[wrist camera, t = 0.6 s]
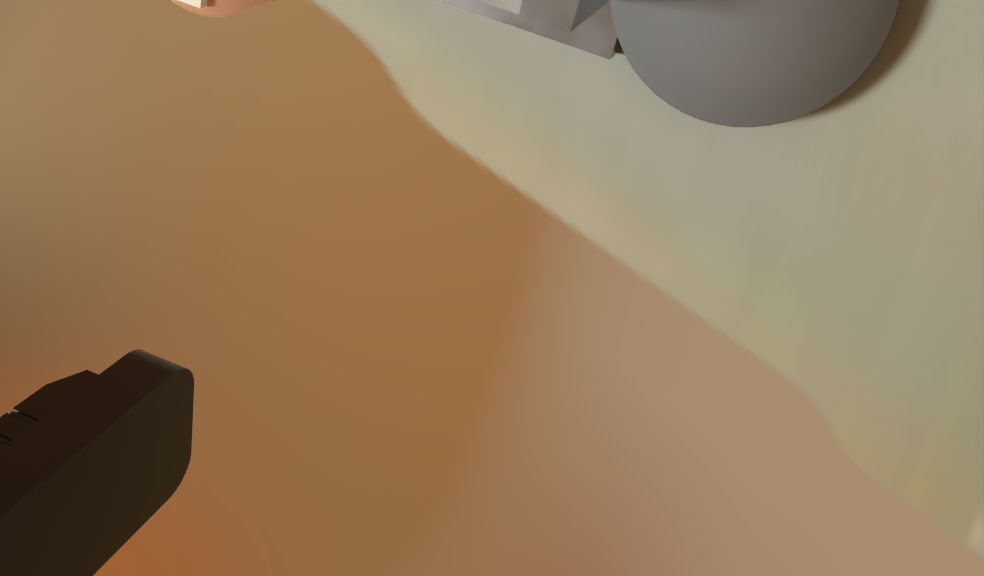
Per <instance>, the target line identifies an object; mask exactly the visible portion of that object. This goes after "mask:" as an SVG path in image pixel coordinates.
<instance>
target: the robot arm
mask: <svg viewBox="0 0 984 576" xmlns="http://www.w3.org/2000/svg"><path fill="white" fill-rule="evenodd" d="M193 395H194V378H193V374H192V372H191V371H190V370H188V369H186V368H184V367H182V366H179V365H177V364H174V363H172V362H169V361H167V360H165V359H162V358H160V357H158V356H155V355H153V354H150V353H148V352H145V351H143V350H134V351H132V352H129V353H128V354H126V355H125V356H124V357H122V358H121V359H119V360H118V361H117V362H115V363H114V364H113V365H111V366H110V367H109V368H107V369H106V370H105V371H103V372H102V373H101V374H99V375H98V374H96V373H93V372H91V371H89V370H86V371H83V372H80V373H77V374H74V375H72V376H69V377H66V378H64V379H61V380H58V381H55V382H52V383H50V384H47V385H45V386H43V387H42V388H41V389H39V390H38V391H36V392H35V393H34V394H32V395H31V396H29V397H28V398H27V399H25V400H24V401H22V402H21V403H20V404H18V405H17V406H15V407H14V408H13V411H12V412H11V413H10V414H8V413H6V414H4V415H3V416H1V417H0V576H93V575H94V574H95V573H96V572H97V571H98V570H99V569H100V568H101V567H102V566H103V565H104V564H105V563H106V562H107V561H108V560H109V559H110V558H111V557H112V556H113V555H114V554H115V553H116V552H117V551H118V550H119V549H120V548H121V547H122V546H123V545H124V544H125V543H126V542H127V541H128V539H130V537H131V536H132V535H134V533H135V532H136V531H137V530H138V529H139V528H140V527H141V526H142V525H143V524H144V523H145V522H146V521H147V520H148V519H149V518H150V517H151V516H152V515H153V514H154V513H155V512H156V511H157V510H158V509H159V508H160V507H161V506H162V505H163V504H164V503H165V502H166V501H167V500H168V499H169V498H170V497H171V496H172V495H173V493H174V492H175V491H176V489H177V487H178V486H179V485H180V483H181V481H182V479H183V477H184V475H185V473H186V470H187V468H188V465H189V462H190V456H191V442H192V419H193Z"/></svg>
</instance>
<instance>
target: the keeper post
mask: <svg viewBox="0 0 984 576" xmlns="http://www.w3.org/2000/svg"><path fill="white" fill-rule="evenodd" d="M440 1H443V2H446V3H448V4H451V5H454V6H457V7H460V8H463V9H466V10H469V11H472V12H474V13H477V14H480V15H483V16H486V17H489V18H492V19H495V20H498V21H500V22H503V23H506V24H509V25H512V26H515V27H518V28H521V29H524V30H526V31H529V32H532V33H535V34H538V35H541V36H544V37H547V38H550V39H552V40H555V41H558V42H561V43H564V44H567V45H570V46H573V47H576V48H578V49H581V50H584V51H587V52H590V53H593V54H596V55H599V56H602V57H604V58H607V59H611V58H612V57H613V56H614V55H615V54H616V52H617V49H618V45H619V40H618V37H617V34H616V30H615V27H614V23H613V19H612V12H611V6H610V0H440Z"/></svg>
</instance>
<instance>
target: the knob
mask: <svg viewBox="0 0 984 576" xmlns="http://www.w3.org/2000/svg"><path fill="white" fill-rule="evenodd" d="M172 1H173V2H174V3H176V4H177V5H179V6H181V7H182V8H184V9H186V10H189V11H191V12H193V13H196V14H200V15H203V16H210V17H223V16H229V15H233V14H236V13H239V12H242V11H245V10H248V9H251V8H254V7H257V6H260V5H263V4H265V3H268V2H271V1H274V0H172Z"/></svg>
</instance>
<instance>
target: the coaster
mask: <svg viewBox="0 0 984 576" xmlns="http://www.w3.org/2000/svg"><path fill="white" fill-rule="evenodd" d="M899 1H900V0H610V6H611V12H612V19H613V23H614V27H615V30H616V34H617V37H618V40H619V42H620V45H621V47H622V49H623V52H624V54H625V56H626V57H627V59H628V61H629V62H630V64H631V66H632V68H633V69H634V70H635V72H636V73H637V74H638V76H639V77H640V78H641V79H642V81H643V82H644V83H645V84H646V85H647V86H648V87H649V88H650V89H651V90H652V91H653V92H654V93H655V94H656V95H658V96H659V97H660V98H661V99H663V100H664V101H665V102H667V103H668V104H669V105H671V106H673V107H674V108H676V109H678V110H680V111H681V112H683V113H685V114H688V115H690V116H692V117H695V118H697V119H699V120H703V121H706V122H710V123H714V124H718V125H725V126H731V127H759V126H769V125H774V124H778V123H783V122H787V121H790V120H793V119H796V118H798V117H801V116H804V115H806V114H808V113H810V112H812V111H814V110H816V109H818V108H820V107H822V106H824V105H825V104H827V103H828V102H830V101H831V100H833V99H835V98H836V97H838V96H839V95H840V94H841V93H842V92H844V91H845V90H846V89H847V88H848V87H850V86H851V85H852V84H853V83H854V82H855V81H856V80H857V79H858V78H859V77H860V76H861V75H862V73H863V72H864V71H865V70H866V69H867V68H868V66H869V65H870V64H871V62H872V61H873V60H874V58H875V57H876V55H877V54H878V53H879V51H880V49H881V47H882V45H883V43H884V42H885V40H886V38H887V36H888V34H889V32H890V29H891V27H892V24H893V22H894V19H895V16H896V13H897V9H898V5H899Z"/></svg>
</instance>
